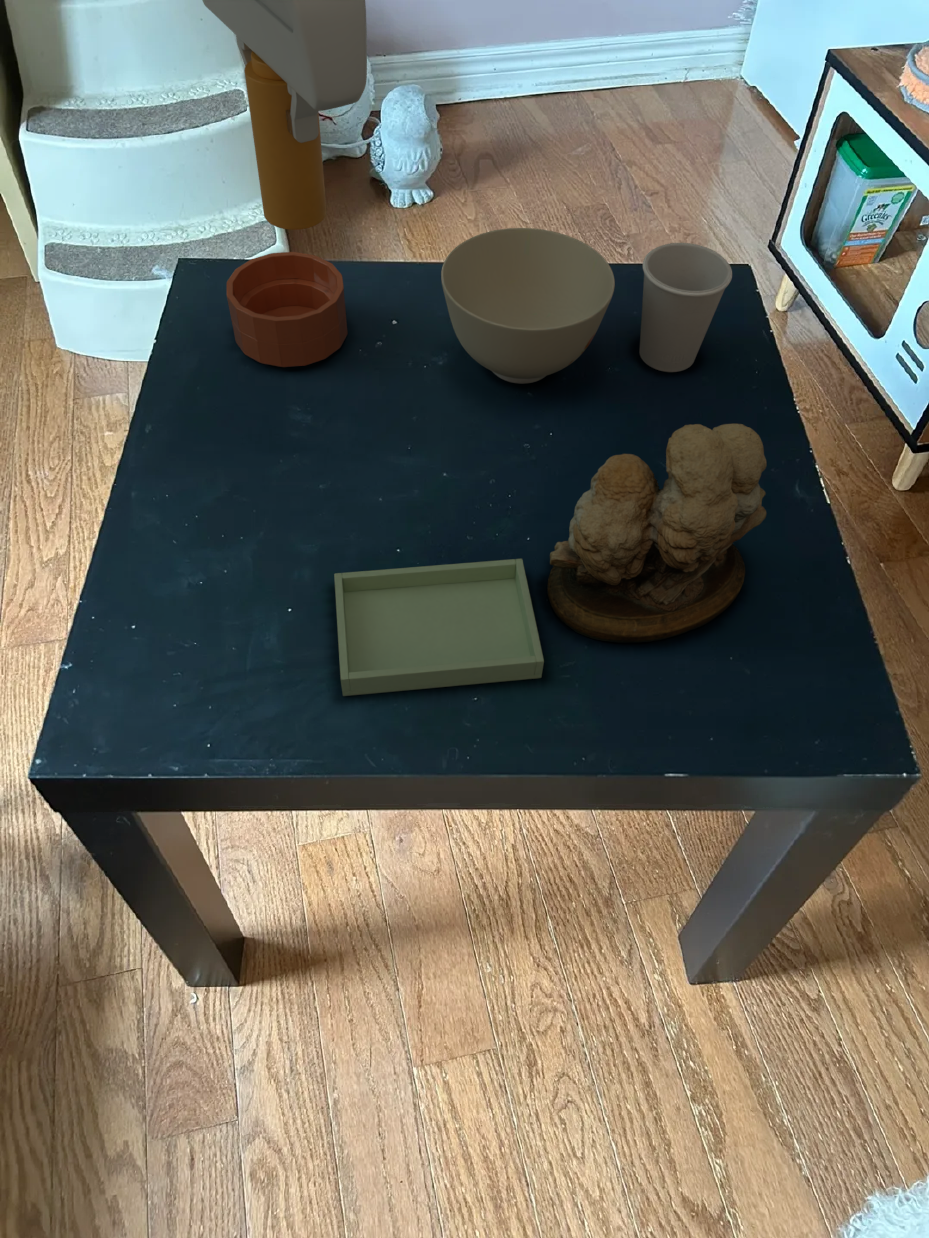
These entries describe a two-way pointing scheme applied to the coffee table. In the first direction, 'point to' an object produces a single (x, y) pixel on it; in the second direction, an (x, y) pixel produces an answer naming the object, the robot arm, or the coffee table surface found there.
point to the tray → (435, 627)
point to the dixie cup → (679, 302)
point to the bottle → (283, 154)
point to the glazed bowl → (287, 308)
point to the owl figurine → (660, 538)
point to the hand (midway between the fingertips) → (284, 118)
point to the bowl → (526, 300)
